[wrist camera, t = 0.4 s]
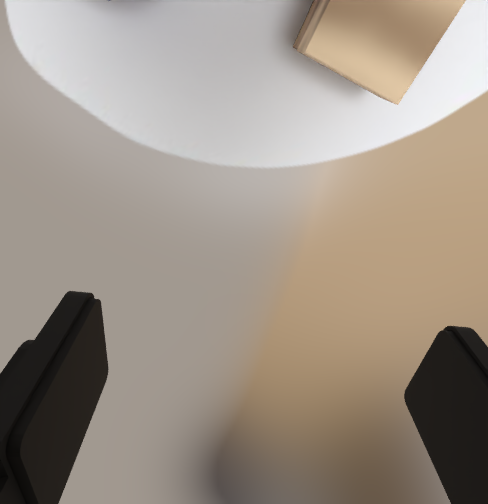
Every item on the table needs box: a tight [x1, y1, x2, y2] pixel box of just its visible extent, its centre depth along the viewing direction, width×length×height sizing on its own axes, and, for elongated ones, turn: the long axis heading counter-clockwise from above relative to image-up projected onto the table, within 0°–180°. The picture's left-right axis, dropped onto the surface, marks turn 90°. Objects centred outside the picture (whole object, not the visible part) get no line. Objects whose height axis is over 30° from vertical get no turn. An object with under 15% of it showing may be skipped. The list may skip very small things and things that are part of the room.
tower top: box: [297, 0, 466, 105], centre depth 25 cm, size 8×8×4 cm
